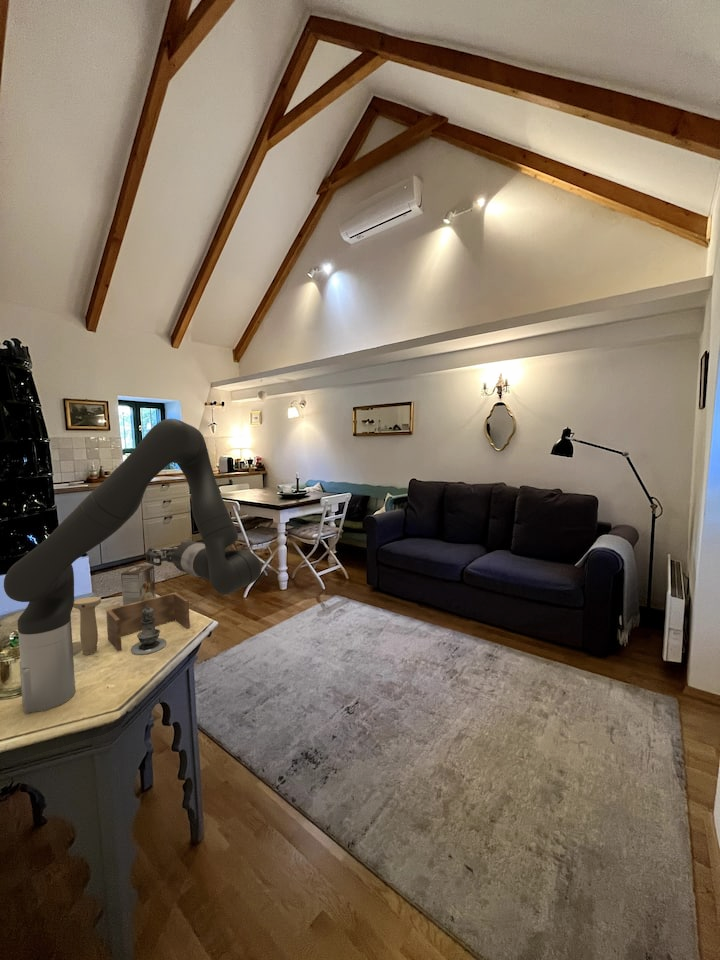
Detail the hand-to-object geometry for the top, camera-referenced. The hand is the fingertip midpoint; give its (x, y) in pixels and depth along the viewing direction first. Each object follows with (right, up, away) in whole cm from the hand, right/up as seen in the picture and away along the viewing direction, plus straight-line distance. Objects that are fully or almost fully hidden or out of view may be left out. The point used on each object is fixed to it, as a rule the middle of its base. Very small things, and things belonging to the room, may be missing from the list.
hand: (166, 548), depth 104 cm
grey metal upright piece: (-9, -29, +8) cm, 32 cm away
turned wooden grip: (-24, -30, +5) cm, 39 cm away
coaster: (-9, -30, +8) cm, 32 cm away
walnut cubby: (-13, -29, +16) cm, 36 cm away
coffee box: (-24, -28, +30) cm, 48 cm away
